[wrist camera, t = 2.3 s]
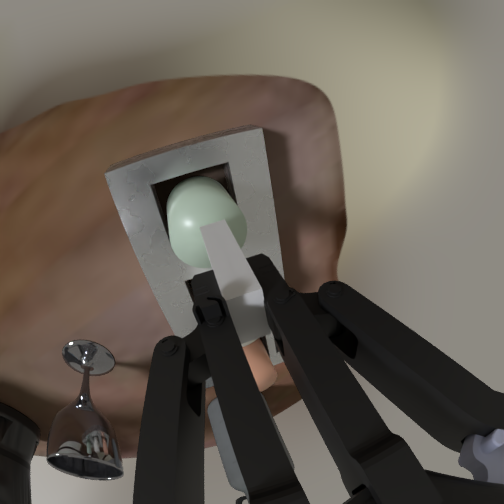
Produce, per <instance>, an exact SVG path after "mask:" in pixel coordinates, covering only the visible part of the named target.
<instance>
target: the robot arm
mask: <svg viewBox="0 0 504 504" xmlns="http://www.w3.org/2000/svg"><path fill="white" fill-rule="evenodd" d="M200 230H201V234H202V237H203V241H204V244H205V247H206V250H207V254H208V257H209V260H210V264H211V267H212V270H209V271H206V272H203V273H200V274H197V275H194V276H193V279H192V282H191V285H192V290H193V295H194V299H195V303H194V305H193V308H192V312H193V314H194V316H195V319H196V321H197V323H198V325H197V327H196V328H195V329H194V330H193V332H191V333H190V334H189V335H187V336H185V337H184V338H181V337H179V336H168V337H165V338H163V339H162V340H160V341H159V342H158V343H157V344H156V346H155V349H154V352H153V357H152V362H151V368H150V373H149V378H148V384H147V390H146V396H145V402H144V408H143V415H142V421H141V428H140V436H139V444H138V452H137V461H136V470H135V482H134V494H133V504H204V428H205V391H206V380H207V379H208V378H210V377H212V381H213V384H214V388H215V391H216V395H217V398H218V402H219V405H220V409H221V412H222V416H223V419H224V422H225V425H226V429H227V432H228V435H229V438H230V441H231V444H232V447H233V451H234V454H235V457H236V459H237V462H238V465H239V468H240V471H241V474H242V477H243V480H244V482H245V485H246V488H247V491H248V494H249V502H250V504H310V503H309V501H308V499H307V497H306V494H305V492H304V490H303V488H302V486H301V484H300V483H299V481H298V479H297V477H296V475H295V473H294V470H293V468H292V466H291V463H290V461H289V459H288V457H287V455H286V452H285V450H284V448H283V445H282V443H281V441H280V439H279V436H278V434H277V432H276V429H275V427H274V424H273V422H272V420H271V417H270V415H269V413H268V410H267V408H266V405H265V403H264V400H263V398H262V396H261V393H260V391H259V388H258V386H257V383H256V381H255V378H254V376H253V373H252V371H251V368H250V365H249V363H248V360H247V358H246V355H245V353H244V350H243V347H242V345H241V344H243V343H246V342H249V341H252V340H255V339H257V338H260V337H263V336H266V335H269V334H271V332H272V334H273V336H274V342H275V347H276V352H277V353H278V352H280V355H281V357H282V359H283V361H284V363H285V365H286V367H287V369H288V371H289V373H290V375H291V377H292V379H293V381H294V383H295V385H296V387H297V389H298V391H299V393H300V395H301V397H302V399H303V401H304V403H305V405H306V407H307V408H308V411H309V413H310V415H311V417H312V419H313V420H314V423H315V424H316V426H317V428H318V430H319V432H320V434H321V436H322V438H323V440H324V442H325V444H326V446H327V448H328V450H329V452H330V454H331V455H332V457H333V459H334V461H335V463H336V465H337V467H338V469H339V471H340V474H341V478H342V481H343V483H344V485H345V487H346V489H347V491H348V493H349V495H350V497H351V498H349V499H348V500H347V501H346V502H344V503H343V504H504V393H501V392H497V391H494V390H492V389H491V388H490V387H488V386H487V385H486V384H485V383H483V382H482V381H481V380H479V379H478V378H476V377H475V376H474V375H473V374H471V373H470V372H469V371H467V370H466V369H465V368H463V367H462V366H461V365H459V364H458V363H456V362H455V361H454V360H453V359H451V358H450V357H448V356H447V355H445V354H444V353H443V352H442V351H440V350H439V349H438V348H436V347H435V346H433V345H432V344H431V343H429V342H428V341H427V340H425V339H424V338H422V337H421V336H420V335H418V334H417V333H415V332H414V331H413V330H411V329H409V328H408V327H407V326H405V325H404V324H403V323H401V322H400V321H399V320H397V319H396V318H394V317H393V316H392V315H390V314H389V313H387V312H386V311H384V310H383V309H382V308H380V307H379V306H377V305H376V304H374V303H373V302H372V301H370V300H369V299H367V298H366V297H364V296H363V295H361V294H360V293H359V292H357V291H356V290H354V289H353V288H351V287H350V286H348V285H347V284H345V283H343V282H340V281H329V282H326V283H324V284H323V285H322V286H320V288H319V291H318V292H315V293H298V292H297V291H296V290H295V289H293V288H290V287H289V286H288V285H287V283H286V282H285V280H284V279H283V277H282V276H281V274H280V273H279V271H278V270H277V268H276V267H275V265H274V264H273V262H272V261H271V259H270V258H269V257H268V256H266V255H264V254H262V253H261V254H258V255H254V256H251V257H248V258H245V256H244V254H243V252H242V251H241V249H240V247H239V245H238V243H237V241H236V239H235V238H234V236H233V234H232V232H231V230H230V228H229V226H228V224H227V223H226V221H225V219H224V220H221V221H217V222H214V223H211V224H207V225H204V226H201V227H200ZM270 330H271V332H270ZM344 360H345V361H346V362H347V363H348V364H349V365H350V366H351V367H352V368H354V369H355V370H356V371H357V372H358V373H359V374H360V375H361V376H363V377H364V378H365V379H366V380H367V381H368V382H369V383H371V384H372V385H373V386H374V387H375V388H376V389H377V390H379V391H380V392H381V393H382V394H383V395H384V396H385V397H386V398H388V399H389V400H390V401H391V402H392V403H393V404H395V405H396V406H397V407H398V408H399V409H400V410H402V411H403V412H404V413H405V414H406V415H407V416H408V417H410V418H411V419H412V420H413V421H414V422H415V423H417V424H418V425H419V426H420V427H421V428H422V429H424V430H425V431H426V432H427V433H428V434H430V435H431V436H432V437H433V438H434V439H436V440H437V441H438V442H440V443H441V444H442V445H444V446H446V447H447V448H449V449H451V450H453V451H456V452H459V453H460V457H459V460H458V462H459V465H460V466H461V467H464V468H466V469H467V470H469V471H470V472H471V473H472V475H473V478H474V480H471V479H465V478H459V477H455V476H450V475H446V474H441V473H437V472H433V471H429V470H424V469H423V467H422V466H421V464H420V463H419V461H418V460H417V458H416V456H415V455H414V453H413V452H412V450H411V449H410V447H409V446H408V444H407V443H406V442H405V440H404V439H403V438H402V437H400V436H399V435H396V434H393V433H392V432H391V431H390V430H389V429H388V427H387V426H386V424H385V423H384V421H383V420H382V418H381V416H380V415H379V413H378V412H377V410H376V409H375V408H374V406H373V404H372V403H371V401H370V400H369V398H368V396H367V395H366V393H365V392H364V390H363V389H362V387H361V386H360V384H359V383H358V381H357V380H356V378H355V377H354V375H353V374H352V372H351V371H350V369H349V368H348V366H347V365H346V363H345V362H344ZM39 441H40V430H39V428H38V427H37V426H36V424H35V423H33V422H32V421H31V420H30V419H28V418H27V417H26V416H24V415H23V414H21V413H19V412H18V411H16V410H14V409H12V408H10V407H8V406H6V405H4V404H2V403H0V504H31V486H30V463H31V460H32V458H33V455H34V453H35V451H36V448H37V445H38V444H39Z"/></svg>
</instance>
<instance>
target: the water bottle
mask: <svg viewBox="0 0 504 504" xmlns="http://www.w3.org/2000/svg"><path fill="white" fill-rule="evenodd" d="M261 396H262V398H263V400H264V403H265V405H266V408H267V410H268V413H269V415H270V417H271V420H272V422H273V424H274V427H275V429H276V432H277V434H278V436H279V439H280V441H281V443H282V445H283V448H284V450H285V452H286V455H287V457H288V459H289V461H290V463H291V466H292V468H293V470H294V464H293V461H292V459H291V456H290V454H289V452H288V450H287V448H286V446H285V443H284V441H283V439H282V437H281V434H280V432H279V430H278V428H277V425H276V423H275V421H274V419H273V416H272V414H271V412H270V409H269V407H268V405H267V402H266V400H265V398H264V396H263V395H262V393H261ZM208 416H209V419H210V423H211V426H212V430H213V433H214V437H215V440H216V444H217V447H218V450H219V453H220V457H221V460H222V463H223V466H224V469H225V472H226V475H227V478H228V481H229V483H230V485H231V486H232V487H233V488H234V489H236V490H238V491H242V492H244V493H245V495H246V496H243V497H240V498H238V499H237V500H236V504H242V501H243V500H245V499H247V500H248V503H249V504H250V502H249V494H248V491H247V488H246V485H245V482H244V480H243V477H242V474H241V471H240V468H239V465H238V462H237V459H236V457H235V454H234V451H233V447H232V444H231V441H230V438H229V435H228V432H227V429H226V425H225V422H224V419H223V416H222V412H221V409H220V405H219V402H218V398H215V399H214V400H213V401H212V402H211V403H210V404H209V406H208Z"/></svg>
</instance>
